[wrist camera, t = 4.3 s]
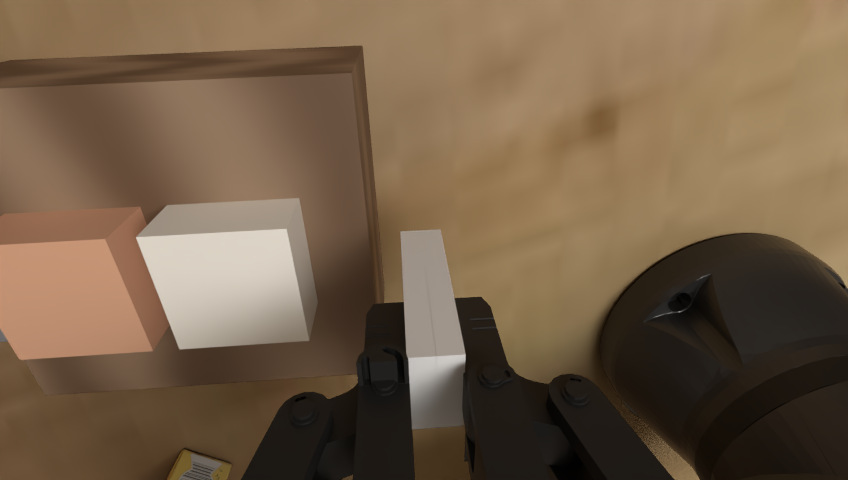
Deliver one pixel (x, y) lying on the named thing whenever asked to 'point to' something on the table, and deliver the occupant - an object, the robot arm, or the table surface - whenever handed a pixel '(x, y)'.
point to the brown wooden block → (205, 183)
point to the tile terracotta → (77, 284)
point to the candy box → (198, 467)
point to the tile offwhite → (232, 272)
